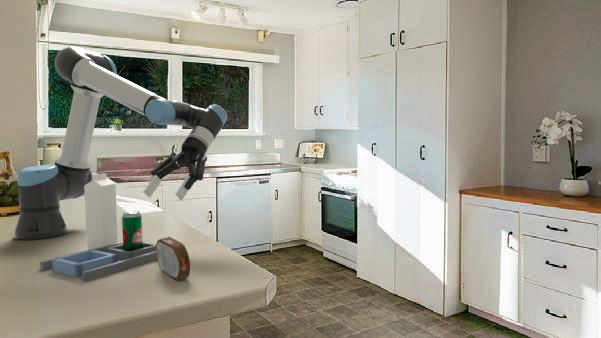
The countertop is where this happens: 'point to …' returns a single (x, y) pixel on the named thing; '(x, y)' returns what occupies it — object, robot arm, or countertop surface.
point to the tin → (173, 258)
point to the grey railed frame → (100, 261)
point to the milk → (100, 212)
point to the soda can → (132, 231)
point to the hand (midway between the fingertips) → (162, 195)
